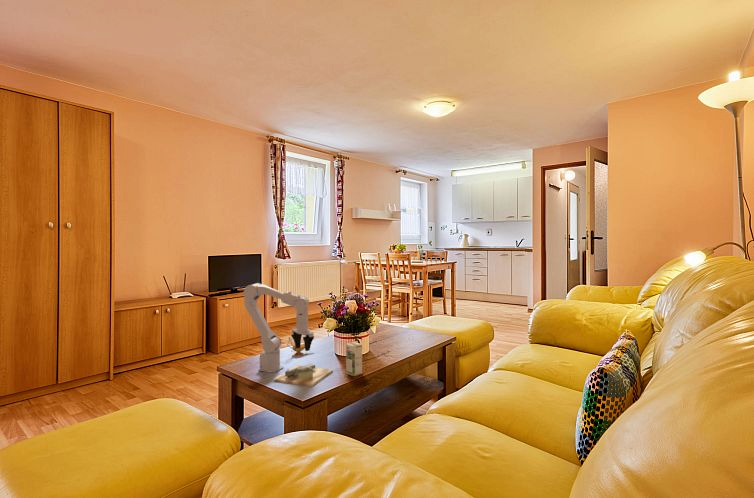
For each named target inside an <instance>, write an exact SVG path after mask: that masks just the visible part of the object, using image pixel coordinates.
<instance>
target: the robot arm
mask: <svg viewBox="0 0 754 498" xmlns="http://www.w3.org/2000/svg"><path fill="white" fill-rule="evenodd" d="M242 294H243V298H244V299H243V300H244V307H245V309H246V311H247V313H248V315H249V316H250V318H251V320H252V322H253V324H254V325H255V327H256V329H257V331H258V333H259V335H260V336H261V340H260V341H261V344H262V350H263V351H261V352H260V354H259V369H258V371H261V372H267V373H272V374H273V373H276V372H278V371H280V370H281V369H284V366H282V365H281V357H280V355H281V351H280V347H281V345H282V339H281V337H279V336H278V335H277V334H276V332H274V331H272V329H271V328H270V326H269V324H268V322H267V321H266V319H265V317H264V314H263V313H262V311H261V309H260V308H259V305H258V300H259V299H260V297H261V296H263V295H267V296H270V297H273V298H277V299H279V300H281V302H282V303H283V304H286V305H289V306H291V307H295V309H296V312H295V313H296V324H295V325H296V328H292V329H291V336H290V337H291V338H292V340H293V342H294V345H295V346H296V348H300V345H301V344H302V343H301V341H303V344H305V349H304V350H305V352H308V351H310V350H311V345H312V342H313V340H314V338H315V335H314V332H312V331H311V329H309V305H310V300H309V299H308V297H306V296H301V295H300V294H299V295H297V294H295V293H292V291H285V292H282V291H280V290H278V289H275V288H272V287H271V286H268V285H266V284H262V283H260V282H256V283H252V284H248V285H247V286H245V288H244V290H243V293H242ZM302 336H303V337H302Z"/></svg>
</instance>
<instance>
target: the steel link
mask: <svg viewBox="0 0 754 498" xmlns="http://www.w3.org/2000/svg"><path fill="white" fill-rule="evenodd" d="M301 366H302V367H299V368H304V367H312V369H313V368H316V364H314V363H310V364H305V365H301ZM291 369H292V368H290V369H289V368H288V369H287V370H285V371H284V373H285V376H287V377H291V376H294V375H296V374H298V371H297V368H296V369H293V370H291Z"/></svg>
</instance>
